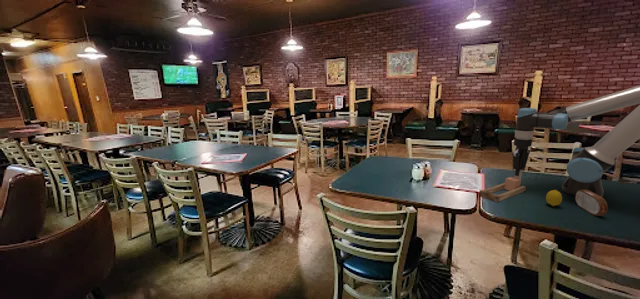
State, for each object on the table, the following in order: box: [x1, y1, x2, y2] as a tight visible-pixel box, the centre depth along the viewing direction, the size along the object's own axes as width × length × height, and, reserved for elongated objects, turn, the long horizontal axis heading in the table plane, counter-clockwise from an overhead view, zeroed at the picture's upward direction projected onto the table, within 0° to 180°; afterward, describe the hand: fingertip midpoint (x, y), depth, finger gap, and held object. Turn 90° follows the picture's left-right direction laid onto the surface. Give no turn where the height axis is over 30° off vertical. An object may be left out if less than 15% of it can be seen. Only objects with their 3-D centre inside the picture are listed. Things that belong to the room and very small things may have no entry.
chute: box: [478, 182, 527, 203], centre depth 138 cm, size 9×25×3 cm, turn 117°
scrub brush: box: [574, 190, 609, 217], centre depth 116 cm, size 15×3×8 cm, turn 168°
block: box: [503, 176, 522, 191], centre depth 142 cm, size 5×5×6 cm
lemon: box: [545, 189, 563, 207], centre depth 122 cm, size 6×6×8 cm
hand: (517, 181), depth 144 cm, fingers closed
